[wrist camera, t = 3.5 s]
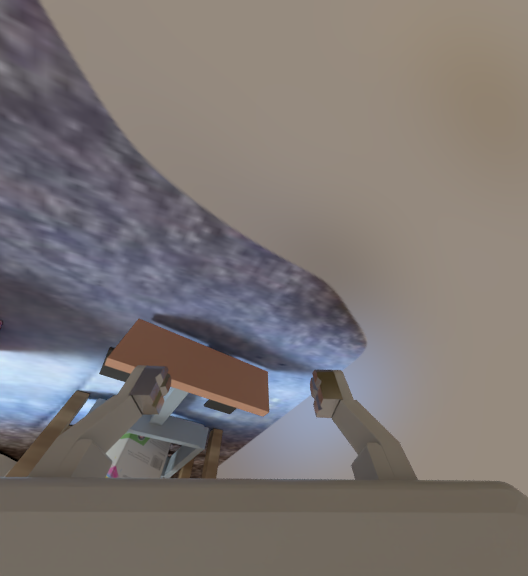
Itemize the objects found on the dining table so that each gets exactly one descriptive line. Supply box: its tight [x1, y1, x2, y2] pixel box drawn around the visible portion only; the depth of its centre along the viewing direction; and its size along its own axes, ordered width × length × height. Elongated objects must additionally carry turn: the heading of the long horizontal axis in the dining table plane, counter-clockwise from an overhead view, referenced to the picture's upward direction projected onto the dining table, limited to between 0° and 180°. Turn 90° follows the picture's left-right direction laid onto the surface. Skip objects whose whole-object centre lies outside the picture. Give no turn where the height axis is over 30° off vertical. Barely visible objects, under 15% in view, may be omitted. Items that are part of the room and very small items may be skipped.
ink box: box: [105, 432, 171, 478], centre depth 24 cm, size 9×5×15 cm, turn 19°
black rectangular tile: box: [99, 347, 130, 382], centre depth 22 cm, size 5×4×1 cm
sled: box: [86, 319, 269, 478], centre depth 24 cm, size 30×15×4 cm, turn 146°
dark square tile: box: [204, 399, 236, 414], centre depth 26 cm, size 5×4×1 cm
